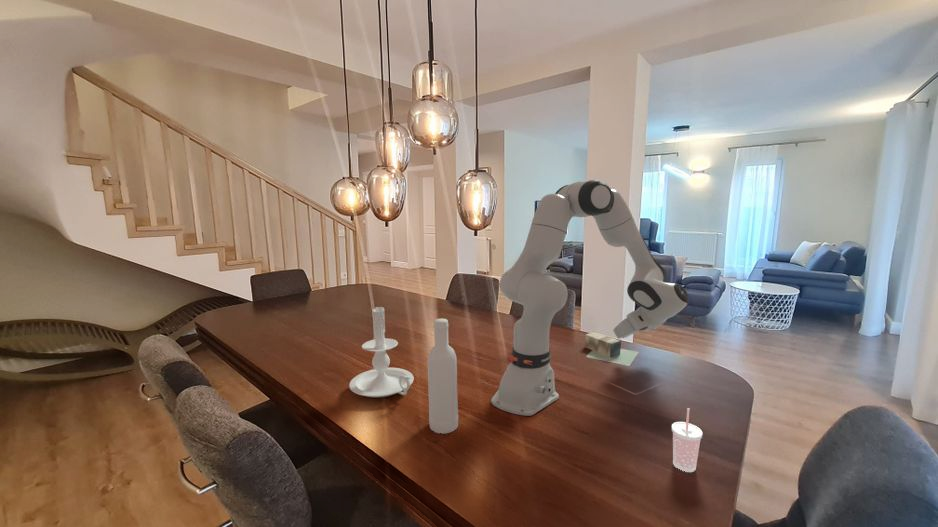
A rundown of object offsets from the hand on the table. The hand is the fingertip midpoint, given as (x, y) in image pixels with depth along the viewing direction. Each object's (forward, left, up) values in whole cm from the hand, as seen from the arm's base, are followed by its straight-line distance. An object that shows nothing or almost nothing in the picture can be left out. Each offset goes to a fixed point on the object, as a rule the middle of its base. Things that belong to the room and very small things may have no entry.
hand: (623, 335), depth 147 cm
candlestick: (-68, +57, -10) cm, 89 cm away
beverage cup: (-55, -27, -10) cm, 62 cm away
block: (+1, +3, -6) cm, 7 cm away
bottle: (-73, +29, -10) cm, 79 cm away
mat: (+2, +4, -9) cm, 10 cm away
